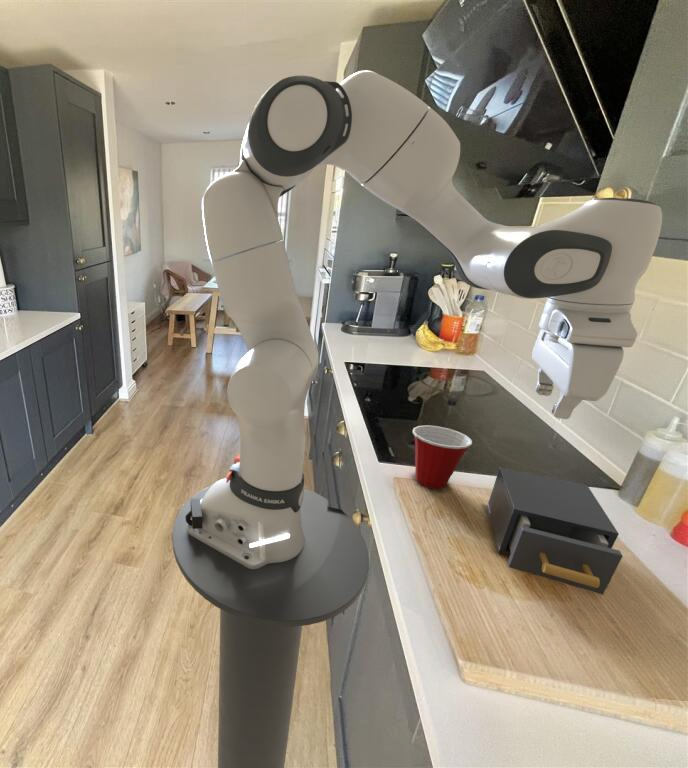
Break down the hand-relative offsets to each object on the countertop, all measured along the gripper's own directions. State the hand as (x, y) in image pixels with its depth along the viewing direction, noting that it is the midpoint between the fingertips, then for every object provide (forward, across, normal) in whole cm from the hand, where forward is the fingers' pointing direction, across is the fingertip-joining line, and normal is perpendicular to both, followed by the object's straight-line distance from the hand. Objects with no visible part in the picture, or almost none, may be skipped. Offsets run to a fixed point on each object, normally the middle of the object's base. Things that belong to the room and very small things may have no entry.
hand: (550, 404), depth 63 cm
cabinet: (+27, -1, +5) cm, 27 cm away
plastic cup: (+27, -13, -11) cm, 32 cm away
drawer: (+26, +6, +5) cm, 27 cm away
